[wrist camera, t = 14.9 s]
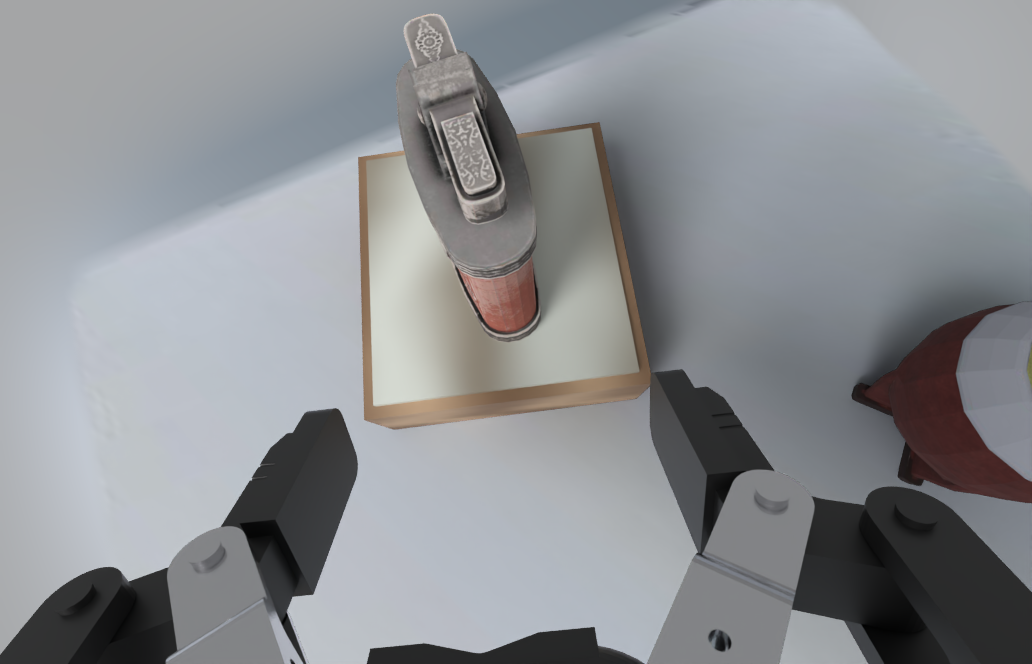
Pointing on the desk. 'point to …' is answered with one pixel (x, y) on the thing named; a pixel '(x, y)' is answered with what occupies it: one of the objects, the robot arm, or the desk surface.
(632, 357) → the wooden flat block
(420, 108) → the lighter
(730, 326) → the desk surface
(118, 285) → the desk surface
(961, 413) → the mate gourd
